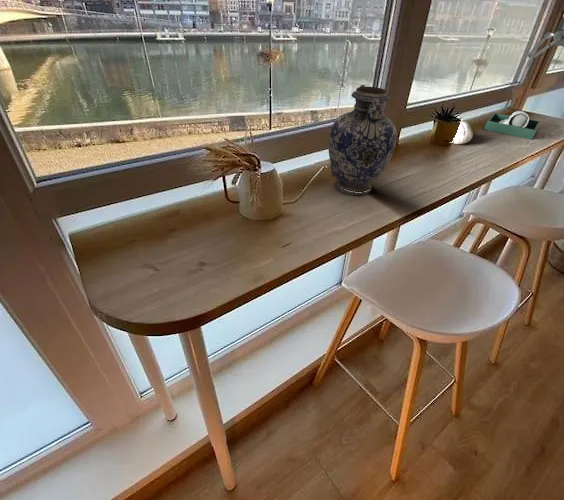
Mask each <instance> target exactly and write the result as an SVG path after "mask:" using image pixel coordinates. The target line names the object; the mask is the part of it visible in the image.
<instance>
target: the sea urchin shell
mask: <svg viewBox="0 0 564 500" xmlns="http://www.w3.org/2000/svg"><path fill="white" fill-rule="evenodd" d="M460 120H461V122H460V125H459V127H458V130H457V133H456V135H455V137H454V138H453V141H452V142H450V143H451V144H455V145H462V144H467V143H469V142H470V141H471V140H472V138H473V135H474V132H473V129H472V126H471V125H470V124H469V122H467V121H466V120H462V119H460Z"/></svg>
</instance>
